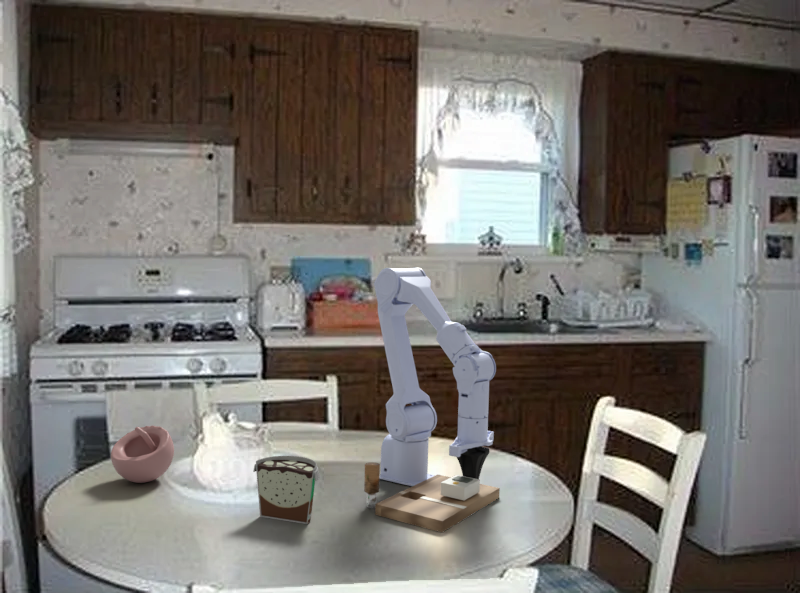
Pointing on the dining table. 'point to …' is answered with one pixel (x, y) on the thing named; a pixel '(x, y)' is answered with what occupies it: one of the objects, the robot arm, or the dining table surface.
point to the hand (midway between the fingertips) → (470, 485)
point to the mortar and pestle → (143, 454)
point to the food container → (286, 487)
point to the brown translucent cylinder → (371, 482)
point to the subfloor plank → (433, 505)
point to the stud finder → (460, 487)
